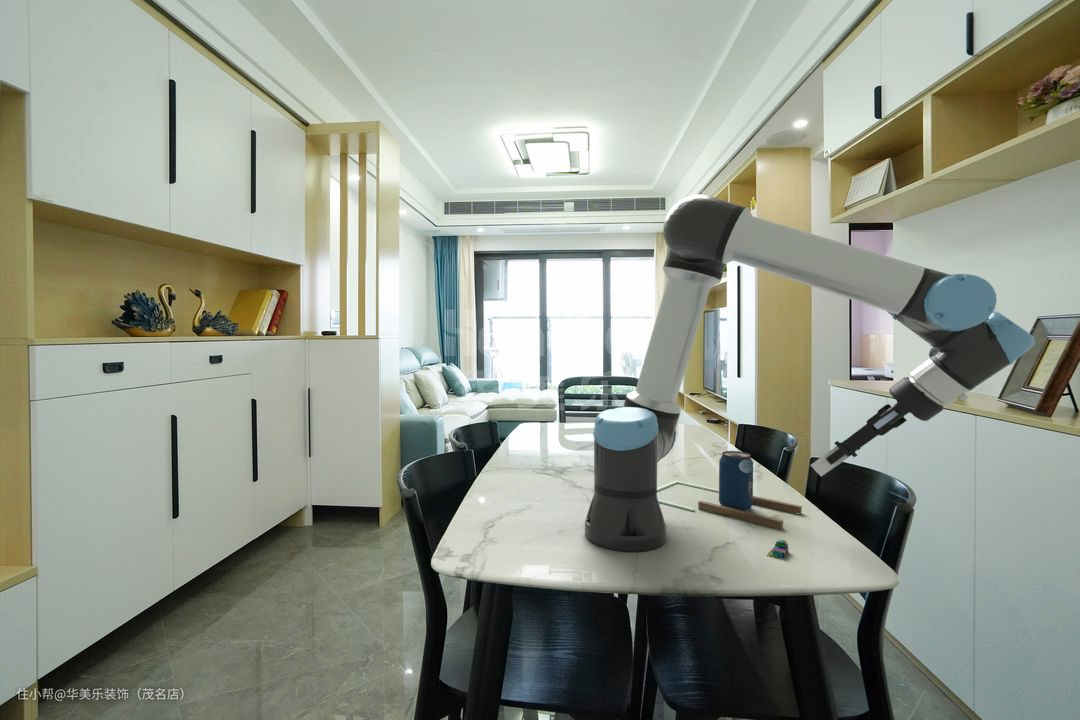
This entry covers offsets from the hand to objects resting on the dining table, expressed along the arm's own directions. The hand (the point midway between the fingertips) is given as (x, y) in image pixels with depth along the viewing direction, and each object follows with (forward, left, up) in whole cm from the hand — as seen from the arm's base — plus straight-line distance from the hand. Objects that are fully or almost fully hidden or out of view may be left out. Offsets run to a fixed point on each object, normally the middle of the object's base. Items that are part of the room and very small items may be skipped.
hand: (816, 470), depth 94 cm
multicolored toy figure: (-18, +1, -12) cm, 22 cm away
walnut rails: (0, +13, -11) cm, 17 cm away
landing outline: (0, +28, -11) cm, 30 cm away
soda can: (0, +16, -11) cm, 20 cm away
